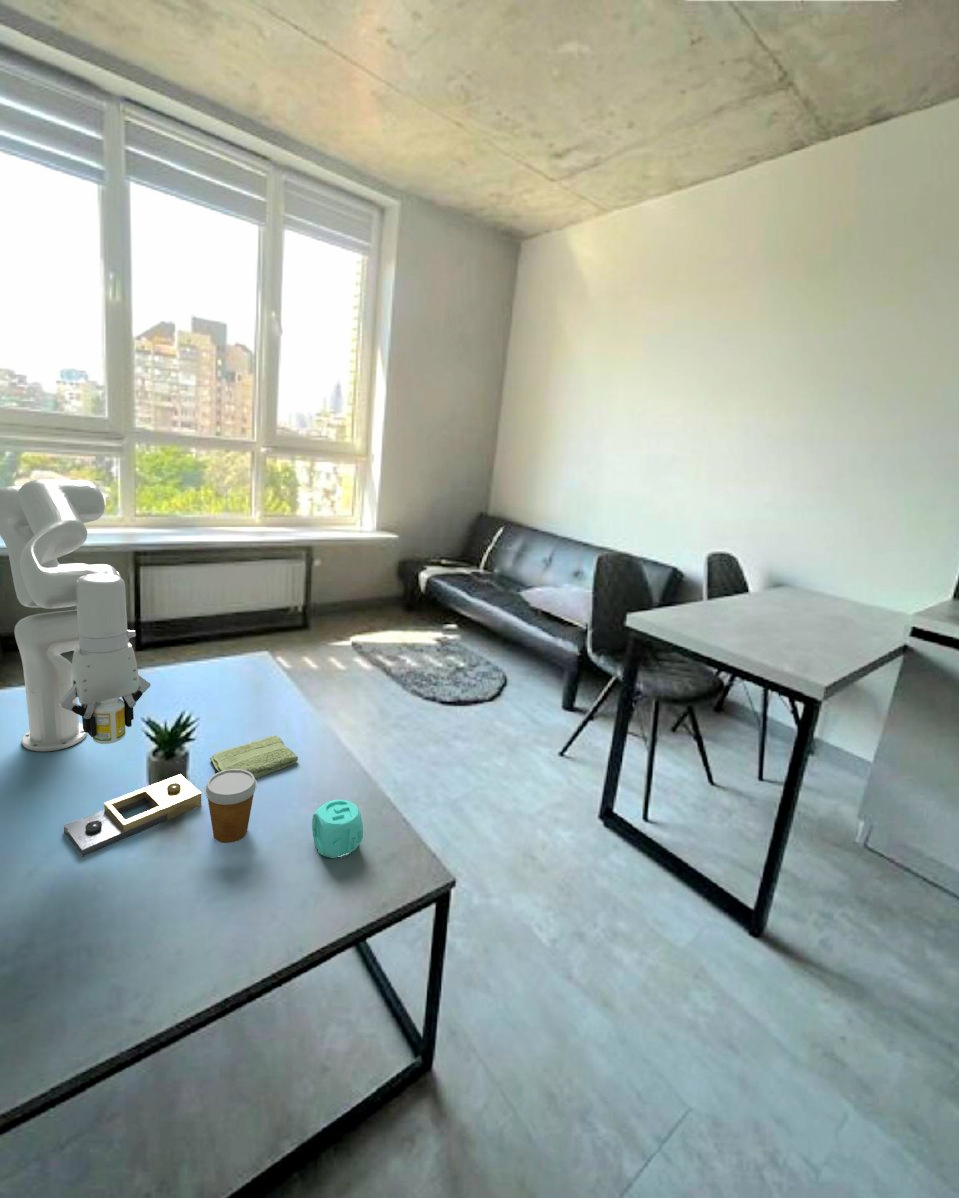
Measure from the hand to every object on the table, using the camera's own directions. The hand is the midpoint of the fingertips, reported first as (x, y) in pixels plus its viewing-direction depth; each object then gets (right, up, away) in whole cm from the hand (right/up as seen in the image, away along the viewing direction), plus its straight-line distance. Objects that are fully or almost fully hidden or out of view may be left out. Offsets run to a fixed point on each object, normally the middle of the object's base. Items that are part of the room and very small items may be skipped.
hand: (109, 728), depth 110 cm
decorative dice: (+42, -25, +6) cm, 50 cm away
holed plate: (+2, -20, +6) cm, 21 cm away
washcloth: (+17, -16, +29) cm, 37 cm away
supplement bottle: (0, -2, +1) cm, 2 cm away
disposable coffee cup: (+21, -23, +6) cm, 31 cm away
